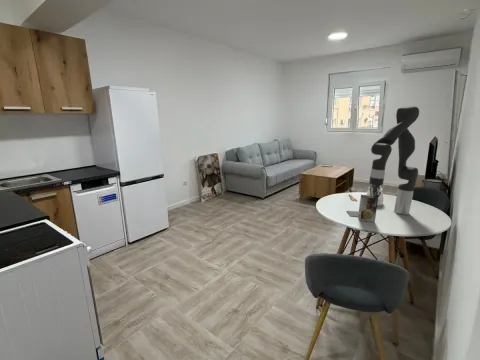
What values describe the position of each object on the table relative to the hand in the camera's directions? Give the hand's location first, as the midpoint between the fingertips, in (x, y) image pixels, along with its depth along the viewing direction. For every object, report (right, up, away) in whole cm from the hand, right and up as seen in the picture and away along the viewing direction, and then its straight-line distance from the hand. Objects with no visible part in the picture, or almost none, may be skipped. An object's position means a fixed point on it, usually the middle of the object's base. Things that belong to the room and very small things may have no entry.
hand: (372, 203), depth 161 cm
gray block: (+1, -9, +18) cm, 21 cm away
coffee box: (0, -12, +10) cm, 15 cm away
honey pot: (+23, -3, +45) cm, 51 cm away
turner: (+11, -1, +54) cm, 55 cm away
